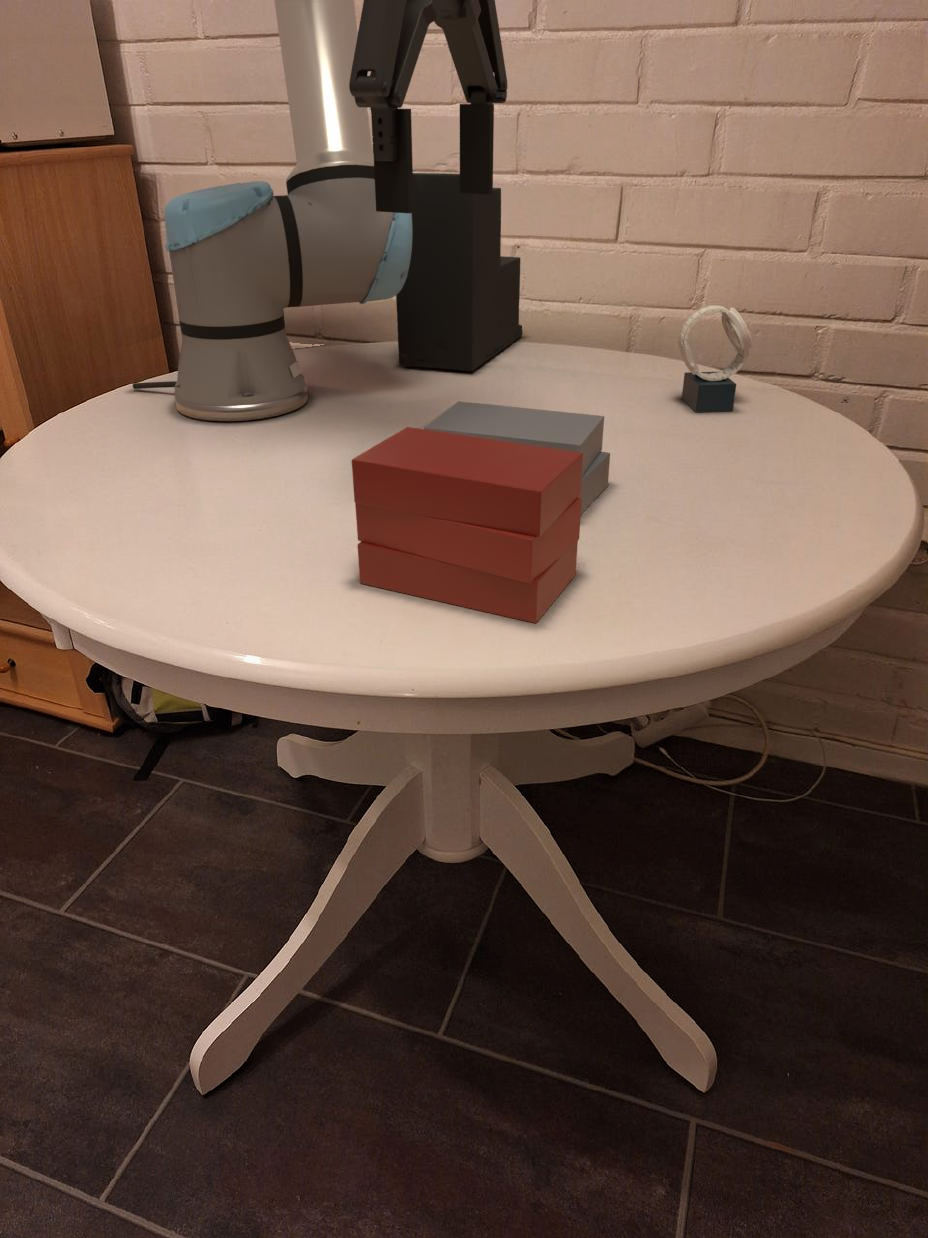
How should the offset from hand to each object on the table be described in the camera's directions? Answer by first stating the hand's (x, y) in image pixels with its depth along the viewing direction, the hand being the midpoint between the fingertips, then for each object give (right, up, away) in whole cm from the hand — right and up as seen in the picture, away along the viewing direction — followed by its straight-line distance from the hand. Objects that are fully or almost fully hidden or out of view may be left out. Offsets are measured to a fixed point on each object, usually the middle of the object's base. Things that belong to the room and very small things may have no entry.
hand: (438, 202), depth 71 cm
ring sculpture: (+30, -8, +35) cm, 47 cm away
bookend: (+2, +5, +59) cm, 59 cm away
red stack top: (+2, -27, -5) cm, 27 cm away
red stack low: (+2, -30, -3) cm, 30 cm away
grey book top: (+7, -18, +11) cm, 22 cm away
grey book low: (+7, -21, +12) cm, 25 cm away
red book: (+2, -24, -7) cm, 25 cm away
